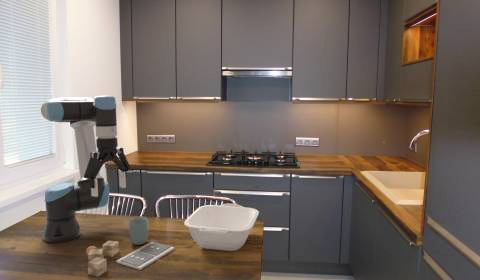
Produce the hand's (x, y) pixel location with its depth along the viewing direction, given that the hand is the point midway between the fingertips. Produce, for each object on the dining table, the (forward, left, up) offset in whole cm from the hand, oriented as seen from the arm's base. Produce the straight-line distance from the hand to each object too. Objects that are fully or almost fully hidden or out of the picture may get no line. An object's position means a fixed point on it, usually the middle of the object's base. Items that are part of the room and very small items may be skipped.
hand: (109, 191), depth 138 cm
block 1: (-2, -6, -27) cm, 28 cm away
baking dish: (+32, +32, -27) cm, 53 cm away
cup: (0, +15, -27) cm, 31 cm away
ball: (-8, -3, -27) cm, 28 cm away
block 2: (+5, -11, -22) cm, 25 cm away
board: (+11, +7, -27) cm, 30 cm away
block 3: (-3, +2, -27) cm, 27 cm away
